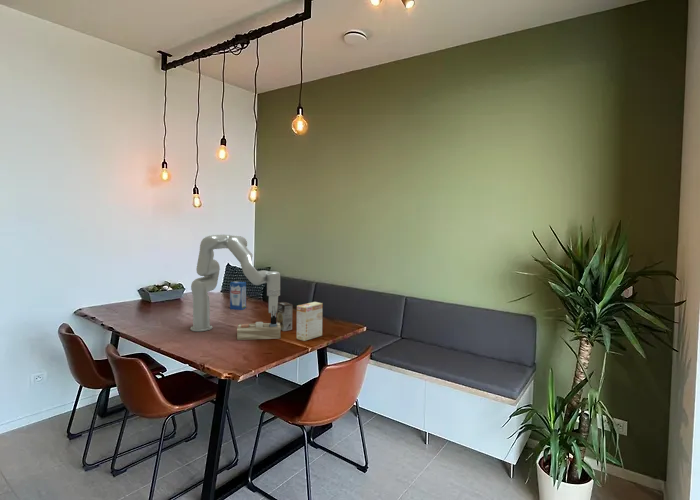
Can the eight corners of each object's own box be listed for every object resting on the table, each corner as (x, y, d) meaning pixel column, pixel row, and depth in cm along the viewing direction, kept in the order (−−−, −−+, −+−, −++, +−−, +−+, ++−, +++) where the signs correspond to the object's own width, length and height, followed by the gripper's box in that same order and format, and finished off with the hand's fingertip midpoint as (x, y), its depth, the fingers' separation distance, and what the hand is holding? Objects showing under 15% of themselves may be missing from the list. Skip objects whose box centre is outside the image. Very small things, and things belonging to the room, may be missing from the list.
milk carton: (229, 309, 302) (229, 282, 301) (234, 307, 308) (234, 281, 307) (241, 310, 300) (241, 283, 298) (246, 308, 306) (246, 282, 304)
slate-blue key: (269, 329, 238) (269, 322, 238) (276, 329, 239) (276, 322, 239) (269, 331, 234) (269, 324, 234) (276, 331, 235) (276, 324, 235)
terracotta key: (241, 330, 235) (241, 323, 235) (248, 330, 236) (248, 323, 235) (241, 332, 231) (241, 325, 231) (248, 332, 232) (248, 325, 231)
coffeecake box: (314, 333, 243) (314, 301, 242) (322, 335, 239) (323, 303, 237) (295, 338, 232) (296, 305, 230) (304, 341, 227) (304, 307, 226)
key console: (238, 334, 239) (238, 324, 238) (279, 332, 243) (279, 322, 243) (237, 340, 227) (237, 329, 226) (280, 338, 232) (280, 328, 231)
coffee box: (276, 328, 253) (276, 302, 252) (285, 326, 257) (285, 301, 256) (283, 331, 246) (283, 305, 245) (292, 329, 250) (292, 304, 249)
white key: (255, 328, 236) (255, 321, 236) (262, 328, 237) (262, 321, 237) (255, 330, 233) (255, 323, 232) (262, 330, 233) (262, 323, 233)
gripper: (267, 290, 241) (267, 320, 243) (267, 295, 227) (266, 327, 228) (279, 290, 243) (279, 320, 244) (280, 295, 228) (280, 326, 230)
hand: (273, 323), depth 236 cm, fingers closed
